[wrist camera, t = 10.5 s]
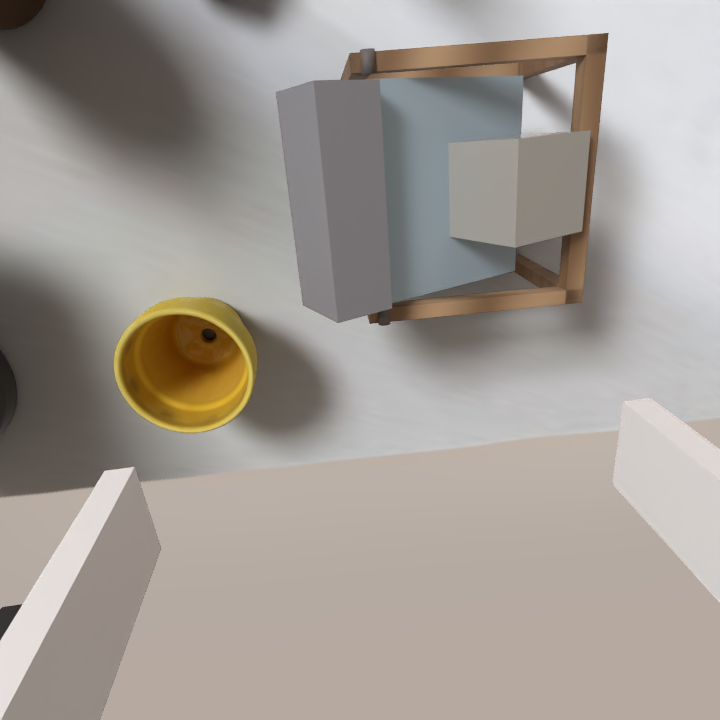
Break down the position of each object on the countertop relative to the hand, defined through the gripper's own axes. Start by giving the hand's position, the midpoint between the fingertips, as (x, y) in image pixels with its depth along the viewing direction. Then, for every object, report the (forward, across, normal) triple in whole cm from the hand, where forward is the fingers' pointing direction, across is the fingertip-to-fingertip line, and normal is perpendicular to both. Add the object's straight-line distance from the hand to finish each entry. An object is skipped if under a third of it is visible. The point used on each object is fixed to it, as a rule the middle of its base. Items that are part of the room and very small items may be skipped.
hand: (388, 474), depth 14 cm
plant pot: (+34, -12, -7) cm, 37 cm away
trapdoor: (+26, +5, +5) cm, 27 cm away
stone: (+25, +11, +5) cm, 27 cm away
